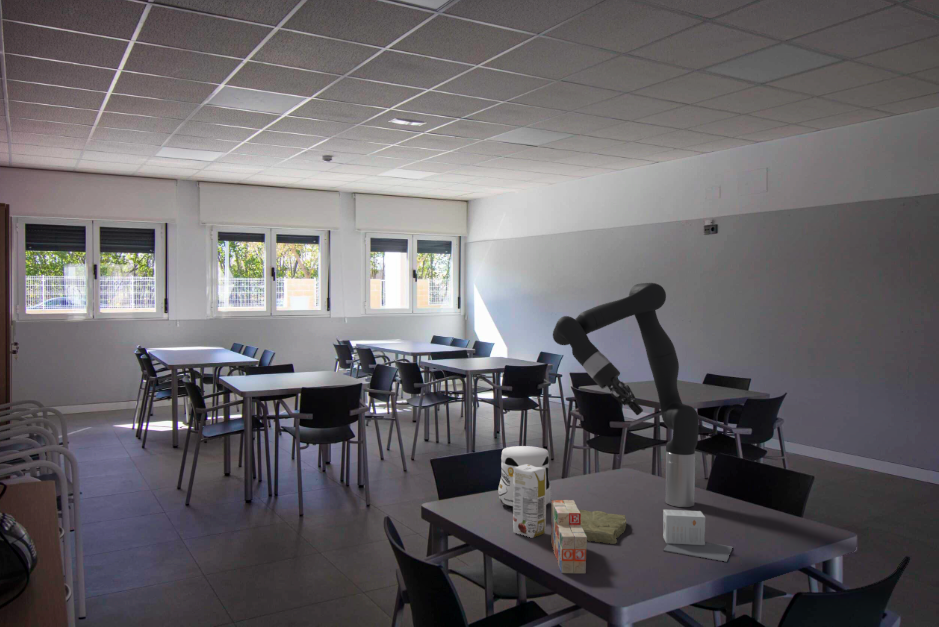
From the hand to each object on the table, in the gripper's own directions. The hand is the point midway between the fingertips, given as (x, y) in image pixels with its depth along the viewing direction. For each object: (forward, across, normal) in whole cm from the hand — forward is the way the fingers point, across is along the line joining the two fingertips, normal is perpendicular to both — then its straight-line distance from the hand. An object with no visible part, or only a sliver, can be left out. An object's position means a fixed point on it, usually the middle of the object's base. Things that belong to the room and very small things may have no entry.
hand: (640, 413), depth 200 cm
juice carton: (+6, -22, +43) cm, 48 cm away
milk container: (-3, +2, +51) cm, 51 cm away
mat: (+37, -11, +11) cm, 40 cm away
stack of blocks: (+17, -34, +31) cm, 49 cm away
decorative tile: (+17, -10, +32) cm, 38 cm away
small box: (+27, -10, +14) cm, 32 cm away
